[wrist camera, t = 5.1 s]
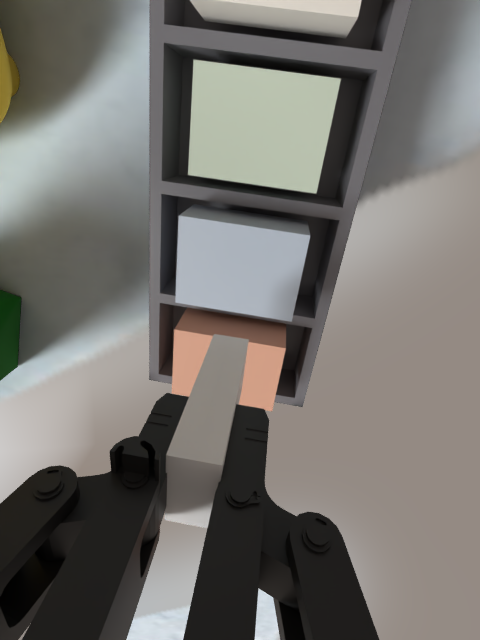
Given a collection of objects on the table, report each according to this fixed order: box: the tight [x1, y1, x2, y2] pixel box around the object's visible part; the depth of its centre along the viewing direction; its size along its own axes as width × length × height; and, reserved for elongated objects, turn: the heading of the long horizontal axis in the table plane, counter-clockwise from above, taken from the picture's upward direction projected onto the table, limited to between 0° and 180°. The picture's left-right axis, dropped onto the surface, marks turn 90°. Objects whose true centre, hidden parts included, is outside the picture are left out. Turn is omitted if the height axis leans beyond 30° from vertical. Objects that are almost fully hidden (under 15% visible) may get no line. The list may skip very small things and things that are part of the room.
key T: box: [188, 60, 341, 194], centre depth 17 cm, size 4×6×3 cm
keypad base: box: [149, 0, 412, 407], centre depth 19 cm, size 24×10×5 cm, turn 173°
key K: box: [175, 204, 310, 322], centre depth 18 cm, size 4×6×3 cm
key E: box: [172, 307, 286, 411], centre depth 21 cm, size 4×6×3 cm
